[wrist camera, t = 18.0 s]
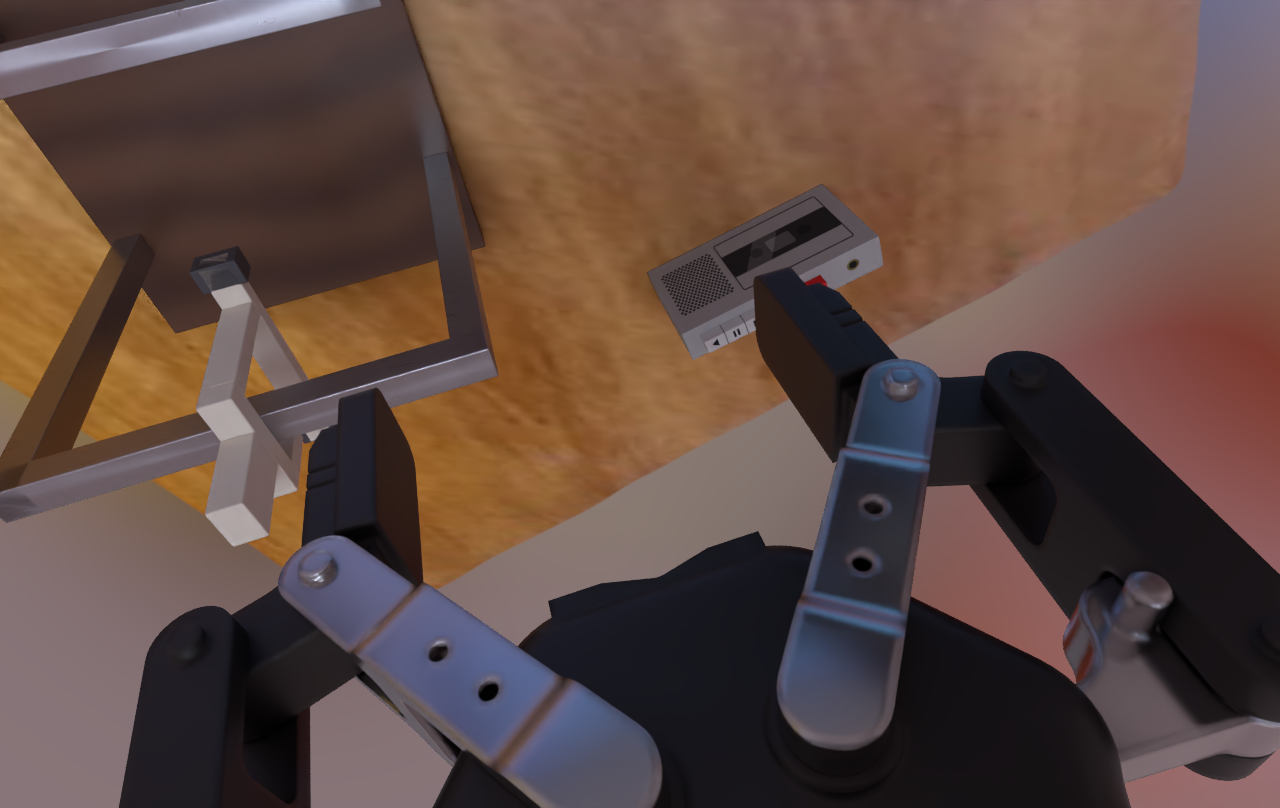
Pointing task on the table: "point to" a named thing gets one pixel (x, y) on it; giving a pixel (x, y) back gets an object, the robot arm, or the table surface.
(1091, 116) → the table surface
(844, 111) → the table surface
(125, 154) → the rack
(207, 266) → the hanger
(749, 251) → the cassette player
